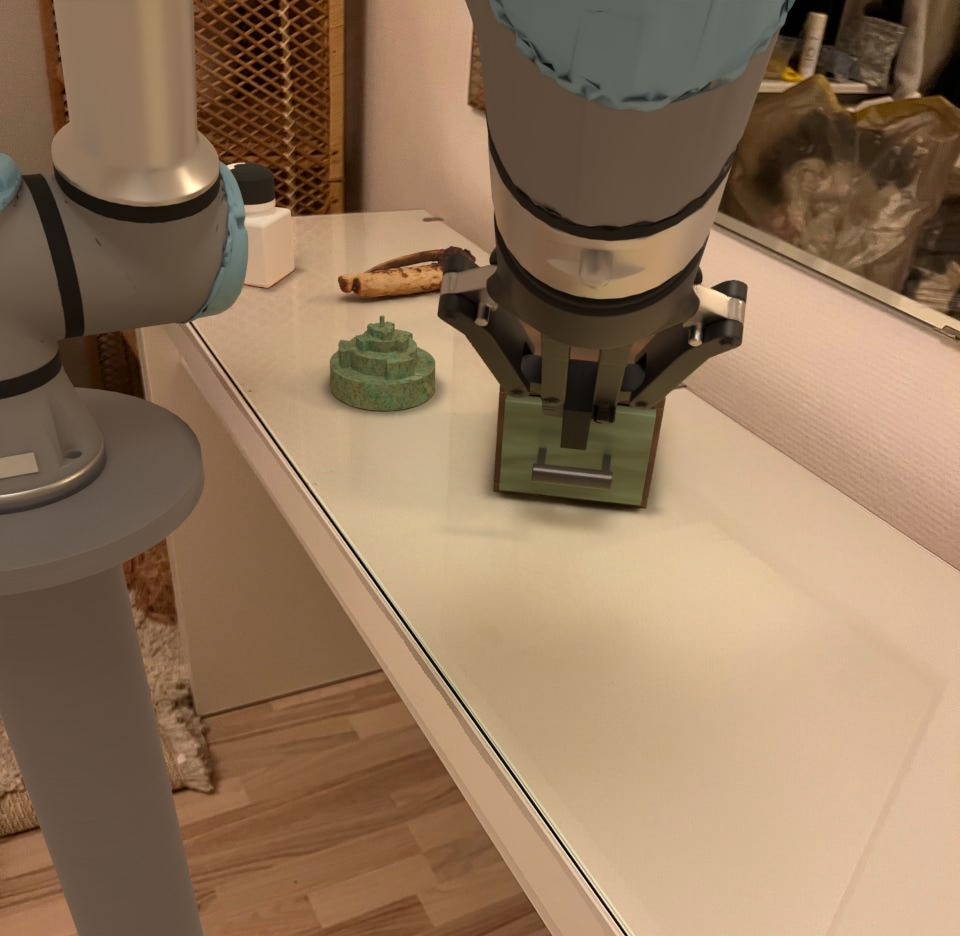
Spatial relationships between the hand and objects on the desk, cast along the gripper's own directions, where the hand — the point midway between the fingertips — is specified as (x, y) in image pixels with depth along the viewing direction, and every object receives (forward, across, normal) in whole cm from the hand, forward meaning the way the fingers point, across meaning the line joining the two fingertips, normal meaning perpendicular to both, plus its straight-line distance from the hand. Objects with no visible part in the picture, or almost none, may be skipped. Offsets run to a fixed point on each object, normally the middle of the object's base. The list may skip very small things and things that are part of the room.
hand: (575, 426), depth 57 cm
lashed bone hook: (+56, -22, +33) cm, 68 cm away
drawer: (+26, 0, +5) cm, 26 cm away
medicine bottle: (+55, -40, +32) cm, 76 cm away
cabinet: (+29, 0, +7) cm, 30 cm away
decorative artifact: (+36, -19, +14) cm, 43 cm away
